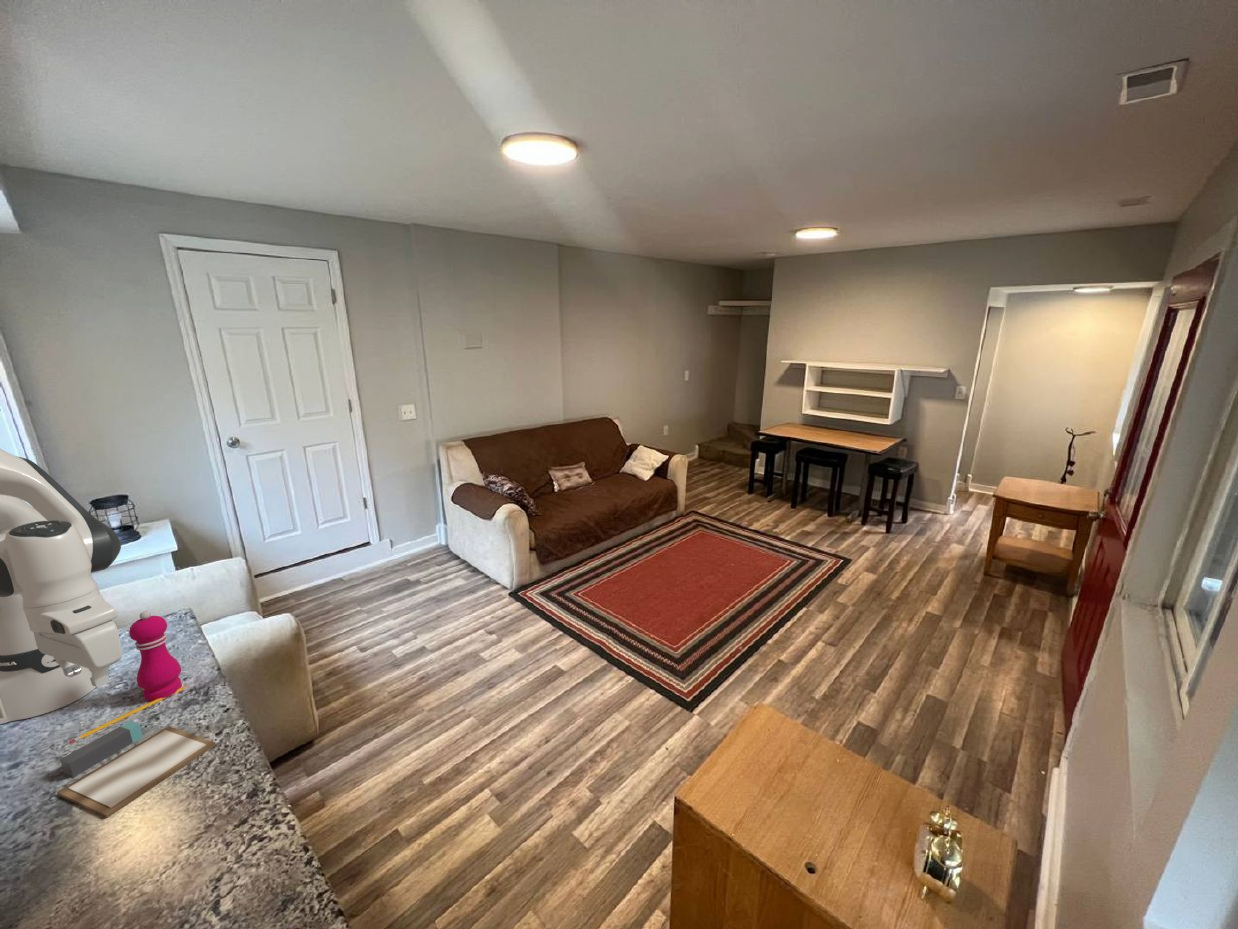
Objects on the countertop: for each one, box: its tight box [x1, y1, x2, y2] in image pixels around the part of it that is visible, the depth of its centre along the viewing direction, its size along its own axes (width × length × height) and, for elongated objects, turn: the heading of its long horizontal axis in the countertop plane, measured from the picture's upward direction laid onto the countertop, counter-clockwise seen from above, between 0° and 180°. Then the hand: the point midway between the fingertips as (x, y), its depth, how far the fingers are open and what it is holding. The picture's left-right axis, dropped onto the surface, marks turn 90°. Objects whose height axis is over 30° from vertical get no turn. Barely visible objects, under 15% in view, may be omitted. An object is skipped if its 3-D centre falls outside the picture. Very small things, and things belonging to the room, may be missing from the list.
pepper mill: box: [128, 610, 183, 702], centre depth 106 cm, size 7×7×20 cm
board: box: [56, 725, 216, 819], centre depth 87 cm, size 14×16×1 cm
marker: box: [59, 720, 144, 778], centre depth 90 cm, size 3×10×3 cm, turn 161°
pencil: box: [68, 684, 191, 744], centre depth 102 cm, size 1×19×1 cm, turn 154°
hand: (87, 679), depth 87 cm, fingers open, 8 cm apart
